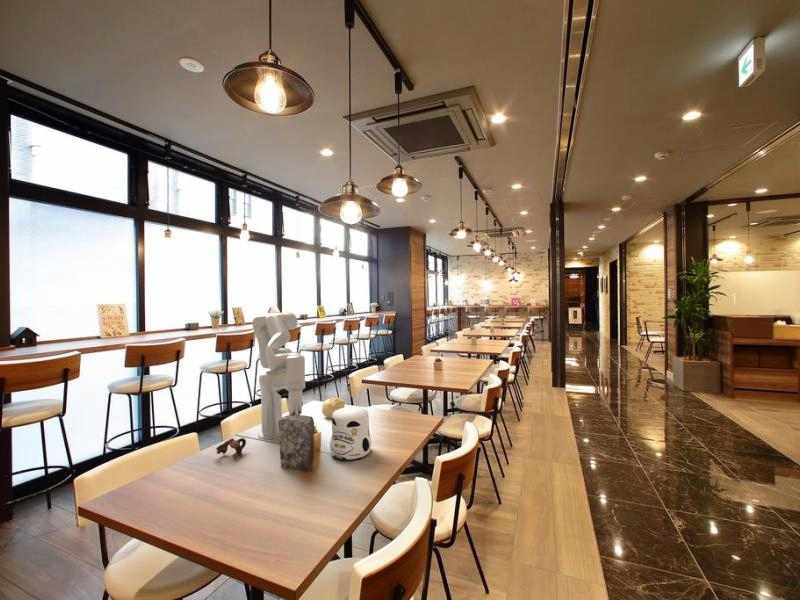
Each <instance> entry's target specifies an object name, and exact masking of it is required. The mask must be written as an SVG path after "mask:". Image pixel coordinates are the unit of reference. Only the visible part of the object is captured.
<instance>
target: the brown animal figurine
mask: <svg viewBox="0 0 800 600" xmlns="http://www.w3.org/2000/svg"><path fill="white" fill-rule="evenodd" d="M246 444H247V440H246V439H245V438H244V437H241V438H238V439H237V440H235V439H234V438H233V437H232V438H231V437H230V439H228V440H227V441H225V442H223V443H222V444H219V445H218V446H217V447H216V448H215V449H216V455H217V454H218V455H221V453H222V455H225V454H227V451H228V447H229V446H230V448H231V449H233V450H235V452H234V453H233V454H232V458H233V460H237V459H239V458H240V457H242V456H243V449H244V448H245V447H246Z"/></svg>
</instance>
